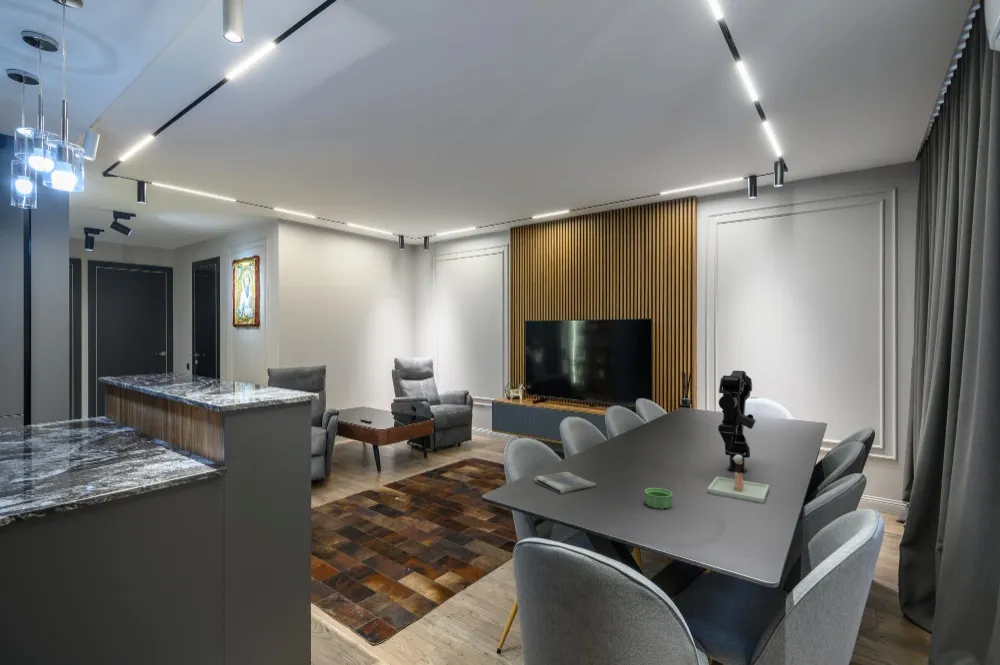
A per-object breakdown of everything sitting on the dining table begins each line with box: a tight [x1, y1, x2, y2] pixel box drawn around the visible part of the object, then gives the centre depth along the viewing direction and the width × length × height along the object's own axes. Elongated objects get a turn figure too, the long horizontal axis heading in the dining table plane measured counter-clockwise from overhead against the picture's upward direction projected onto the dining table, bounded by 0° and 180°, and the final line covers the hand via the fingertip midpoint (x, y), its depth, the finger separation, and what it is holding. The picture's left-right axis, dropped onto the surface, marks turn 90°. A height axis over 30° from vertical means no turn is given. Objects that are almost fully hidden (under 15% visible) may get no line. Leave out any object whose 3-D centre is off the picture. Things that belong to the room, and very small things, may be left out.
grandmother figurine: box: [733, 455, 744, 492], centre depth 176 cm, size 8×4×13 cm, turn 160°
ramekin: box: [644, 487, 674, 510], centre depth 162 cm, size 9×9×4 cm
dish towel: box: [532, 471, 597, 495], centre depth 183 cm, size 19×18×3 cm
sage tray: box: [706, 476, 770, 505], centre depth 176 cm, size 18×18×2 cm
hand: (730, 446), depth 190 cm, fingers open, 9 cm apart
